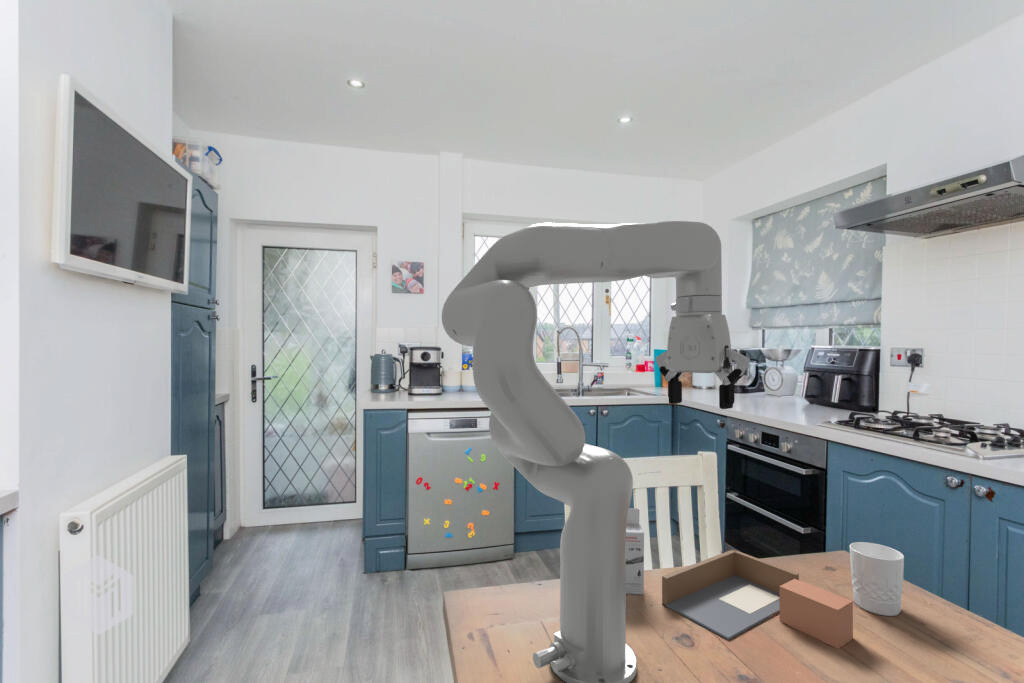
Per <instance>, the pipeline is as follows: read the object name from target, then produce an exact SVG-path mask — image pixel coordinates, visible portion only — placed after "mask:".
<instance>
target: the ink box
mask: <svg viewBox="0 0 1024 683" xmlns="http://www.w3.org/2000/svg"><path fill="white" fill-rule="evenodd" d="M644 582H645V531H644V530H643V527H642V526H641V524H640V509H639V508H637V507H634V508H633V507H629V511H628V517H627V525H626V595H628V594H629V595H644V594H645V583H644Z"/></svg>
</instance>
